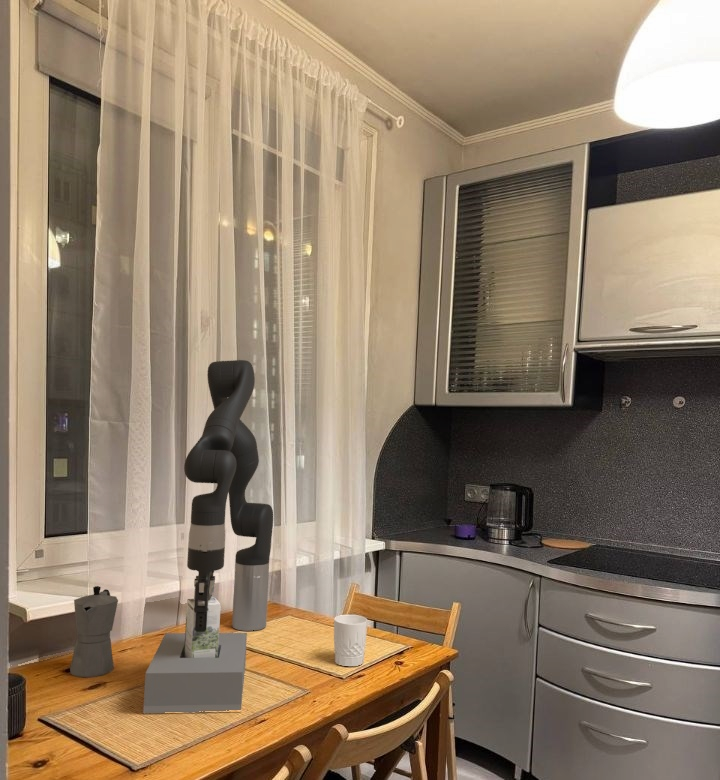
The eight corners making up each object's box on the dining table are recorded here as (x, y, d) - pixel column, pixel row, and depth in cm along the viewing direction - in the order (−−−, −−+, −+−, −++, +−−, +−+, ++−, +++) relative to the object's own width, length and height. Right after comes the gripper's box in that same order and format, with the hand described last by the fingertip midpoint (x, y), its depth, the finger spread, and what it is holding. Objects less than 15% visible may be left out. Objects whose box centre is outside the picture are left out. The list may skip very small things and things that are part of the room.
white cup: (339, 670, 148) (341, 625, 149) (327, 658, 156) (329, 615, 156) (371, 666, 152) (372, 622, 152) (357, 655, 159) (359, 613, 159)
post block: (163, 667, 146) (165, 633, 146) (245, 666, 148) (246, 632, 149) (143, 714, 122) (145, 673, 123) (240, 712, 125) (242, 672, 125)
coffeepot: (104, 681, 137) (110, 594, 138) (58, 681, 136) (63, 593, 137) (124, 656, 152) (129, 577, 153) (83, 655, 151) (88, 576, 152)
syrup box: (209, 664, 140) (213, 595, 140) (217, 674, 134) (221, 602, 135) (182, 668, 137) (186, 597, 138) (189, 678, 132) (193, 604, 133)
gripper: (192, 538, 144) (188, 615, 143) (183, 551, 129) (179, 636, 128) (227, 539, 145) (223, 615, 144) (222, 552, 130) (218, 636, 129)
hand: (202, 625), depth 136 cm, fingers closed on syrup box, 7 cm apart
